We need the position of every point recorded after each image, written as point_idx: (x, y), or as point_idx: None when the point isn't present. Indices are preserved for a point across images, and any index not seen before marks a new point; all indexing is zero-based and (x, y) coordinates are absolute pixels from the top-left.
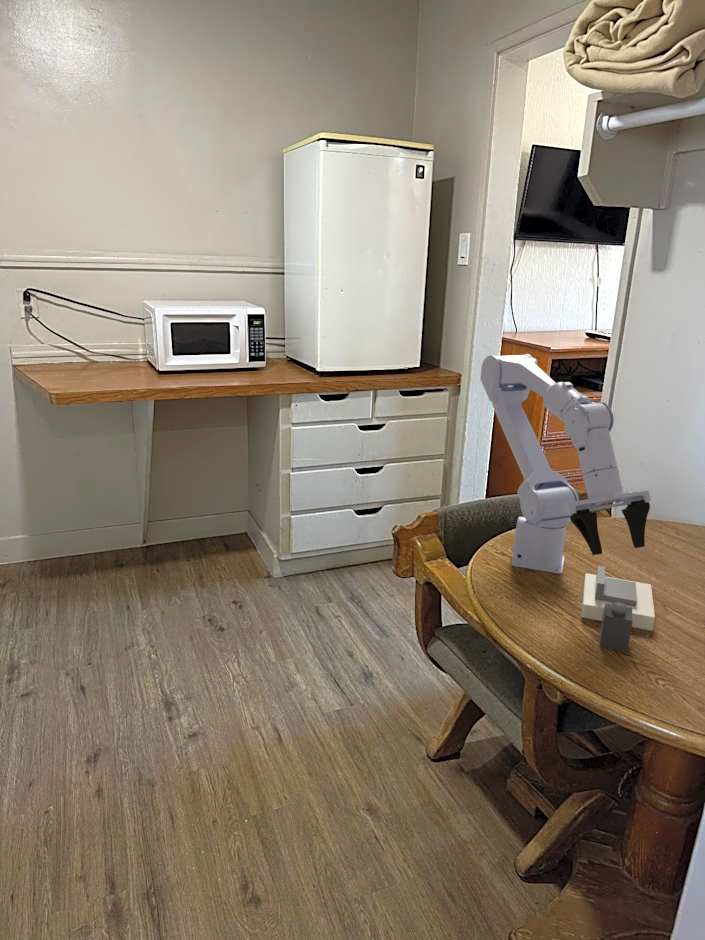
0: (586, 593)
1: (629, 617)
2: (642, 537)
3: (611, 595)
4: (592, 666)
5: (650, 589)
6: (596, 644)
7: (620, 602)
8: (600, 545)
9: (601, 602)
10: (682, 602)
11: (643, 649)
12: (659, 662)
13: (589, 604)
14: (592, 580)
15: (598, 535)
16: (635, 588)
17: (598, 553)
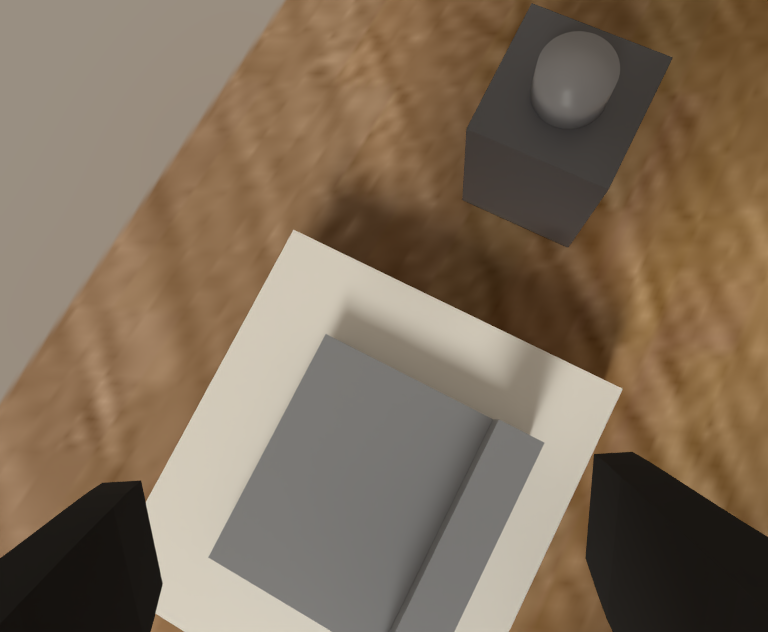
0: (550, 509)
1: (532, 36)
2: (63, 526)
3: (444, 407)
4: (705, 23)
5: None
6: (618, 173)
7: (558, 94)
8: (643, 486)
9: (505, 397)
10: (7, 498)
11: (424, 129)
12: (408, 42)
13: (586, 381)
14: None
15: (715, 564)
16: (252, 480)
17: (636, 458)
